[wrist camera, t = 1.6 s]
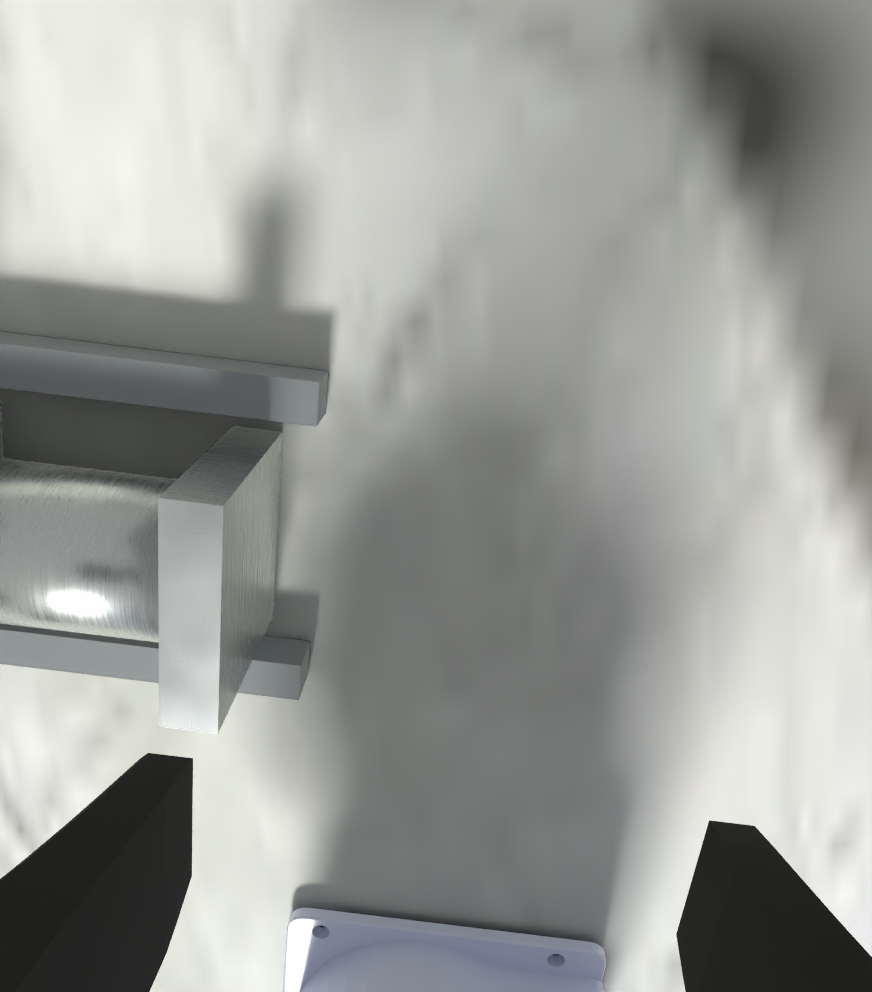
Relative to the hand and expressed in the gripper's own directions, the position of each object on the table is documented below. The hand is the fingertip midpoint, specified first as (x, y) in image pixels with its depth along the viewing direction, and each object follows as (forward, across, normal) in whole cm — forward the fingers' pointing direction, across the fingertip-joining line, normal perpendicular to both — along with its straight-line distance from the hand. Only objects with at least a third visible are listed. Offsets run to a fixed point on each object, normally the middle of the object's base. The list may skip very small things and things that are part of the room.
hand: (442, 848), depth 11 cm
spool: (+10, +8, 0) cm, 13 cm away
